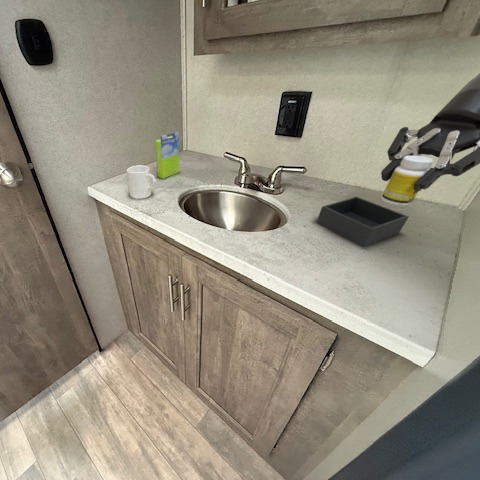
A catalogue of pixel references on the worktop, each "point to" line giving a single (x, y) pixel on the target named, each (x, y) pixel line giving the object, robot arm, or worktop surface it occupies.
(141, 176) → the mug
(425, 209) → the worktop surface
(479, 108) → the robot arm
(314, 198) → the worktop surface
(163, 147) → the box
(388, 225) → the bin
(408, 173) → the supplement bottle
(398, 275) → the worktop surface
